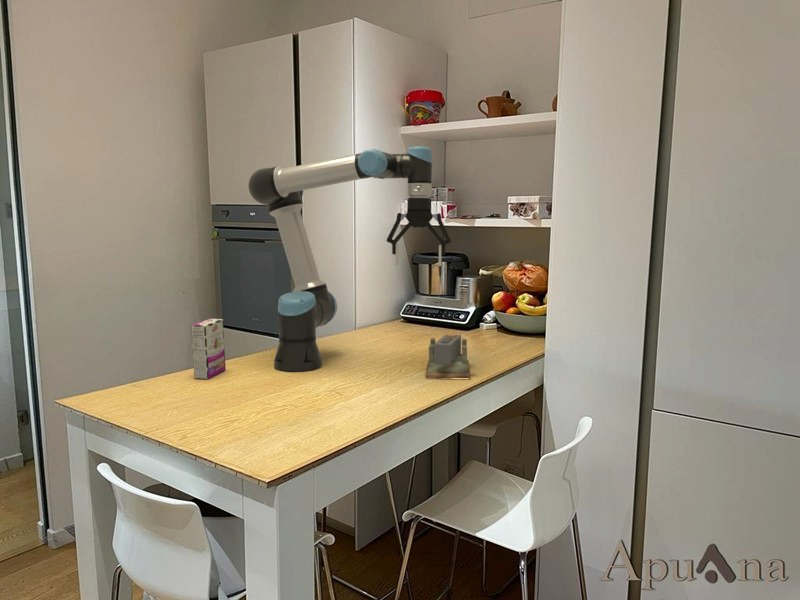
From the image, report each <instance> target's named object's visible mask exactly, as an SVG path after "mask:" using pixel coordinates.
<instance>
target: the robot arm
mask: <svg viewBox="0 0 800 600" xmlns="http://www.w3.org/2000/svg"><path fill="white" fill-rule="evenodd" d="M432 156H433V152H432V149H431V147H429V146H421V145H419V146H410V147H408V148H407V153H388V152H386V151H381V150H380V149H376V148H368V149H366V150H364V151H362V152H359V153H354V154H349V155H344V156H340V157H333V158H329V159H325V160H320V161H315V162H310V163H309V162H308V163H306V164H301V165H296V166H291V167H285V168H284V167H282V166H279V165H277V166H273V167H263V168H260V169H257V170H256V171H253V173H252V174H251V176H250V177H249V180H248V186H247V187H248V191H249V193H250V196H251V197H252V199H254V201H255V202H257V203H259V204H261V205H265V206H266V207H267V210H268V213H269V214H268V215H270V216H271V217H273V218H274V219H275V222H276V224H277V228H278V231H279V236H280V238H281V242H282V245H283V248H284V252H285V256H286V259H287V262H288V265H289V270H290V272H291V273H290V274H291V276H292V278H293V283H294V286H295V287H294V289H293V291H292V292H287V293H284V294H282V295H280V297H279V298H278V300H277V301H278V304H277V314H278V315H277V316H278V317H277V319H278V320H277V321H278V345H277V350H276V352H275V357H274V360H273V366H274V369H275V370H278V371H282V372H308V371H309V372H310V371H313V370H317V369H319V368H321V367H322V366H323V365H322V364H323V363H322V361H323V359H322V355H321V352H320V349H319V347H318V344H317V328H319V327H322V326H325V325H327V324H328V323H330V322H331V321H332V320H333V318H335V316H336V314H337V310H338V303H337V299H336V297H335V296H334V295H333V293H331V292H330V291H329V290H328V286H327V283H326V282H325V281H323V280H321V278H320V275H319V271H318V267H317V264H316V261H315V258H314V253H313V251H312V247H311V244H310V240H309V237H308V234H307V230H306V227H305V224H304V220H303V217H302V213H301V211H302V208H303V206H304V205H303V201H302V198H303V195H304V191H306V190H307V191H308V190H312V189H318V188H321V187H326V186H332V185H337V184H343V183H346V182H347V183H348V182H352V181H353V182H354V181H358V180H362V179H370V178H374V179H381V180H386V179H407V197H408V198H407V199H406V200H407V204H406V208H407V210H406V213H402V212H397V214H396V219H395V222H394V224H393V226H392V228H391V230H390V232H389V234H388V236H387V238H386V242H387V243H389V244H391V245H392V246H391V249H392V250H391V251H392V252H391V253H392V255H395V266H399V265H400V244H398V242H399V241H400V240H401V239H402V237H403V236H404V235H405V234H406V233H407V232H408V230H409V229H410V228H411V227H412V228H423V229H424V228H426V227H427V229H428V230H429V231H430V232H431V233H432V234H433V236H434V237H435V238H436V240H437V241H439V245H438V267H442V256H444V255H445V254H446V245H447V244H451V242H452V239H451V237H450V234H449V233H448V231H447V229H446V226H445V224H444V223H443V221H442V214H441V212H439V213H434V214H433V213H432V199H431V198H430V197H432V193H433V192H432V185H433V184H432V179H433V177H432V176H433V175H432V172H433V171H432V170H433V157H432ZM404 218H405V219H406V220H407V224H406V225H405V226H404V227H403V228H402V229H401V230H400V232H399V233H398V234H397V236H396V237H394V236H395V234H396V232H397V229H398V228H399V227H400V223H401V221H404ZM433 219H434V220H435V221H437V223H438V226H439V227H440V230H441V233H442V234H443V236H444V238H445V240H444V239H443V237H442V236H441V235H440V234H439V233H438V231H437V230H436V229H435V228H434V226H433V225H432V224H431V223H430V222H431V221H432V220H433ZM393 238H394V239H393Z"/></svg>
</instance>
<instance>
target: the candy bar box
mask: <svg viewBox="0 0 800 600" xmlns="http://www.w3.org/2000/svg"><path fill="white" fill-rule="evenodd" d="M190 327H191V328H190V329H191V343H192V345H191V346H192V347H191V348H192V360H193V378H194V379H195V378H198V379H197V380H210V379H212V378H214V377H216V376H218V375H220V374H221V373H223V372H225V371H226V370H227V369H226V354H225V353H226V351H225V335H224V334H225V333H224V319H223V318H221V319H220V318H209V319H205V320H203V321H200V322H197V323H194V324H191V325H190ZM217 374H218V375H217ZM215 375H216V376H215ZM213 376H214V377H213ZM199 378H200V379H199Z"/></svg>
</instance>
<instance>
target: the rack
mask: <svg viewBox="0 0 800 600" xmlns="http://www.w3.org/2000/svg"><path fill="white" fill-rule="evenodd" d="M467 340H468V339H467V338H461V354H460V355H459V356H458V357H457V358H456V359H455V360H454V361H453V362H452V363H451V364H450V365H444V364H434V344H435V343H436V337H430V341H429V342H430V343H429V345H428V360H427V365H426V370H425V376H424V379H425V378H469V379H470V365H469V359H468V345H467V343H468V341H467Z"/></svg>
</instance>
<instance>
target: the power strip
mask: <svg viewBox="0 0 800 600" xmlns="http://www.w3.org/2000/svg"><path fill="white" fill-rule="evenodd" d="M460 354H462V335H461V334H457V333H448V334H447V333H446V334H445V335H443V336H442V337H441V338H440V339H438V340H437V341H435V344H434V364H444V365H450V364H451V363H452V362H453V361H454V360H455V359H456V358H457V357H458V356H459V355H460Z"/></svg>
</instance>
